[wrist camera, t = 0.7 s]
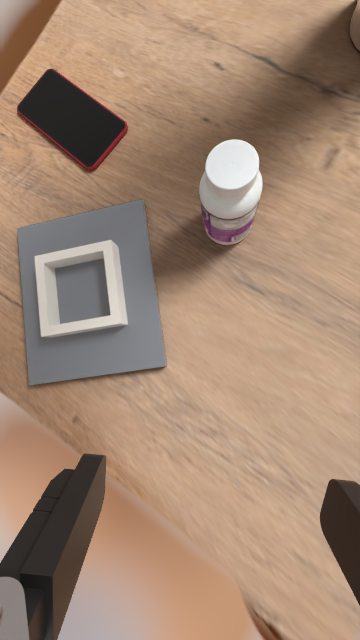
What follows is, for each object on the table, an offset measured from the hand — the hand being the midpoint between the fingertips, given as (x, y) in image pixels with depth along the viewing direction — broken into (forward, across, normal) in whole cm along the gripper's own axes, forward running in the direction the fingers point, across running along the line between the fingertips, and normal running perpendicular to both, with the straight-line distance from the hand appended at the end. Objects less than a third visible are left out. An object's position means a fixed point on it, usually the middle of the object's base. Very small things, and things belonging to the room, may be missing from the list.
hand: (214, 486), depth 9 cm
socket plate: (+22, +13, -3) cm, 26 cm away
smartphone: (+30, +18, -24) cm, 43 cm away
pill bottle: (+23, -2, -12) cm, 26 cm away
